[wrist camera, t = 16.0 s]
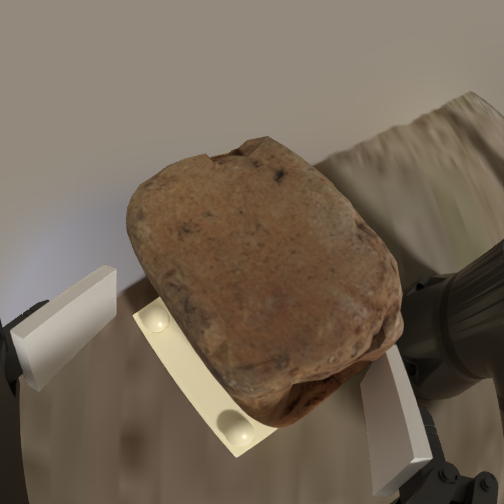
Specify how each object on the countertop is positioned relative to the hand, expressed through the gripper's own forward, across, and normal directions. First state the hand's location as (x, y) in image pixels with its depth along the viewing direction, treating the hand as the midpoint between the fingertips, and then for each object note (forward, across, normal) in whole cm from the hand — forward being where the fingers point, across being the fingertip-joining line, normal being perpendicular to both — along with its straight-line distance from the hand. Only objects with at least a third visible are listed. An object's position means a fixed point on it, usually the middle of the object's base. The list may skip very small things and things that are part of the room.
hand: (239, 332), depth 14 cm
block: (+10, +1, -9) cm, 14 cm away
